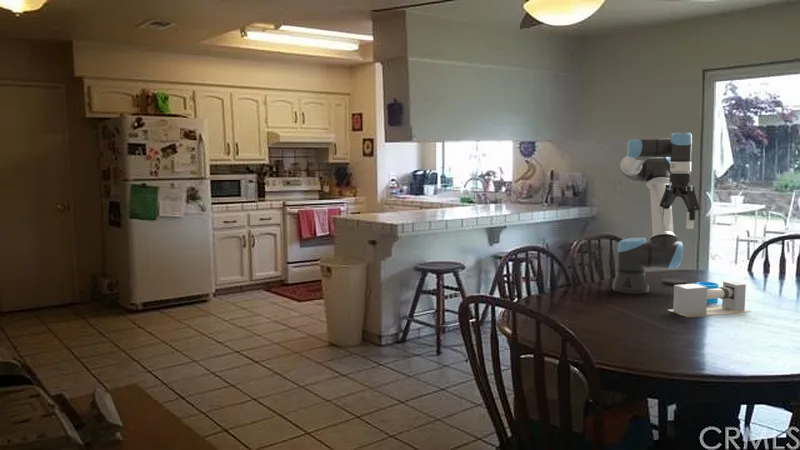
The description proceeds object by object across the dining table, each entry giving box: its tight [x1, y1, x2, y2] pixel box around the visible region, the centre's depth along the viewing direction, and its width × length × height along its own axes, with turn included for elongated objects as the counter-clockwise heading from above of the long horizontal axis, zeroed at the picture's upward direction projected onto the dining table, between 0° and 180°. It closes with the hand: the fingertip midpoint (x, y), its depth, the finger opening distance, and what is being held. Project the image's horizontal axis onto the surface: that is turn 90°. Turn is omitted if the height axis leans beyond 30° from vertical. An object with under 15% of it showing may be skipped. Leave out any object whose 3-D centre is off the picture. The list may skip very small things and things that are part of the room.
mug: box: [695, 281, 719, 304], centre depth 259 cm, size 12×8×8 cm
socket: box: [721, 280, 747, 311], centre depth 244 cm, size 4×7×10 cm, turn 14°
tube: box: [707, 286, 734, 300], centre depth 242 cm, size 18×4×4 cm, turn 104°
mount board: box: [668, 304, 752, 318], centre depth 242 cm, size 12×28×1 cm, turn 104°
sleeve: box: [672, 283, 708, 316], centre depth 240 cm, size 9×7×10 cm
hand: (678, 226), depth 251 cm, fingers open, 13 cm apart
